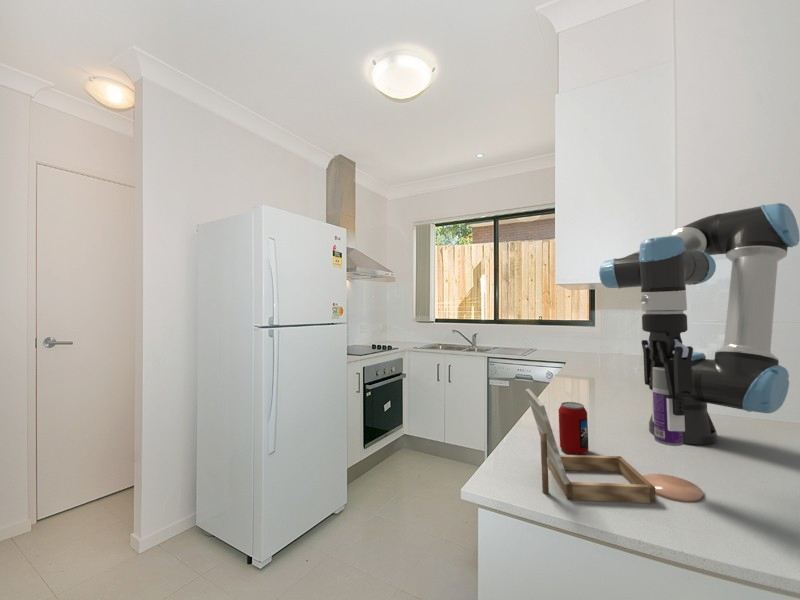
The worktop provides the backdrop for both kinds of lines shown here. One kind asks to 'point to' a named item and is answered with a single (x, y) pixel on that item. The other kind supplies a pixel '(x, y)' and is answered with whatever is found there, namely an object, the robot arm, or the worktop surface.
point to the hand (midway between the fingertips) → (668, 425)
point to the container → (663, 411)
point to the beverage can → (573, 428)
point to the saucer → (674, 488)
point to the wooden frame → (586, 468)
